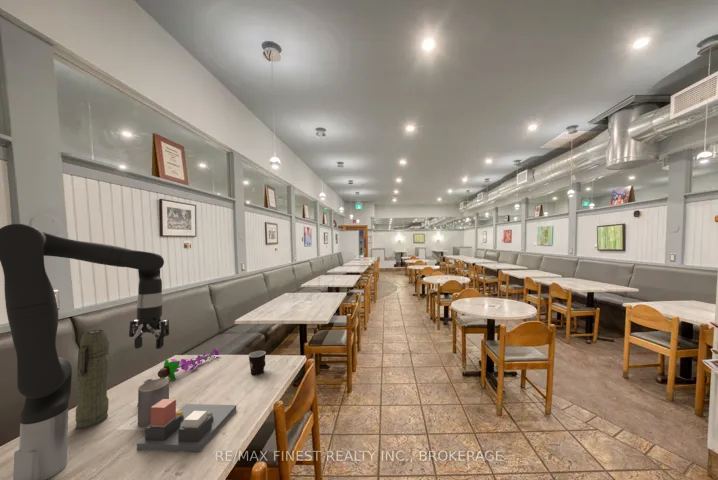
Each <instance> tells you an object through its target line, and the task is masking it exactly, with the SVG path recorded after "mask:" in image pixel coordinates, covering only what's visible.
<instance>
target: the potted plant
mask: <svg viewBox="0 0 718 480" xmlns="http://www.w3.org/2000/svg"><path fill="white" fill-rule="evenodd" d="M214 355H220V352H219V351H218V350H217V349H216V348H215V349H214V348H213V349H212V352H209V353H207V352H206V353H204V354H202V355H201V354H198V355H196V357H192V358H191V357H190V358H189V359H188V358H187V359H184V358H181V359H180V360H177V359H175V358H170V362H169V360H168V358H165V360H164V362H163V367H162V368H160V369H159V370H158V372H157V377H158V378H159V379H161V378H168V379H169V380H173V381H174V380H176V379H177V378H176V375H175V373H177V372H179V371H180V369H181V370H183V371H184V372H187V371H188V370H190V371H193V370H194V369H195V368H196V367H197V366H198V365H200V364H202V363H203V360H204V361H205V362H207V360H211V358H213V356H214ZM189 367H190V368H189ZM179 368H180V369H179Z"/></svg>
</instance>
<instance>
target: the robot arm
mask: <svg viewBox="0 0 718 480" xmlns="http://www.w3.org/2000/svg"><path fill="white" fill-rule="evenodd" d="M45 257H56V258H57V257H58V258H64V259H71V260H72V259H73V260H78V261H82V262H88V263H93V264H98V265H104V266H112V267H118V268H130V269H136V270H137V272H138V287H137V288H138V289H137V290H138V292H137V294H138V295H137V301H136V319H133V320H131V321H130V322H129V330H128V336H129V337H130V338H133V339H134V341H133V342H134V349H135V350H138V349H140V348H142V347H143V335H144V333H145V334H146V333H148V334H149V333H151V334H152V335H153V336H154V337H155V338H156V339H155V349H156V350H159V349H162V348H163V346H164V342H165V341H164V338H165V337H168V336H170V321H169V319H165V320H162V319H161V317H162V315H163V282H162V278H161V269H162V268H163V267H164V264H165V260H164V258H163V257H162V255H161V254H159V253H154V252H149V251H144V250H143V251H141V250H134V249H130V248H126V247H123V246H117V245H111V244H105V243H101V242H100V243H99V242H90V241H83V240H82V241H81V240H77V239H71V238H66V237H63V236H57V235H54V234H50V233H48V232H45V231H42V230H40V229H39V228H37V227H35V226H33V225H30V224H26V223H11V224H7V225H5V226H1V227H0V264H1V267H2V271H3V276H4V284H3V285H4V301H5V309H6V315H7V320H8V324H9V328H10V334H11V338H12V342H13V346H14V349H15V350H14V351H15V354H16V367H17V369H16V371H17V372H16V375H17V377H16V380H17V381H16V384H17V386H16V388H17V391H18V392H19V393H20V394H21V396H23V397H25V400H24V404H23V407H22V410H21V411H20V412H21V413H20V417H19V418H20V420H19V422H20V423H19V424H20V425H19V446H18V447H19V449H17V450H16V451H14V453H13V454H14V455H13V477H12V478H13V479H12V480H48V479H50V478H52V477H54V476H55V475H57V474H58V473H60V472H61V471H62V470H63V469H64V468H65V467H66V466H67V464H68V432H69V431H68V429H69V427H68V426H69V405H70V404H69V402H70V397H71V393H72V392H71V391H72V379H73V378H72V375H73V370H72V369H73V368H72V363H71V362H70V361H69V360H68V359H66V358H64V357H60V356H59V355H58V351H57V342H56V339H57V333H58V326H59V308H58V303H57V297H56V294H55V291H54V287H53V285H52V283H51V280H50V278H49V276H48V274H47V271H46V267H45Z"/></svg>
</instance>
